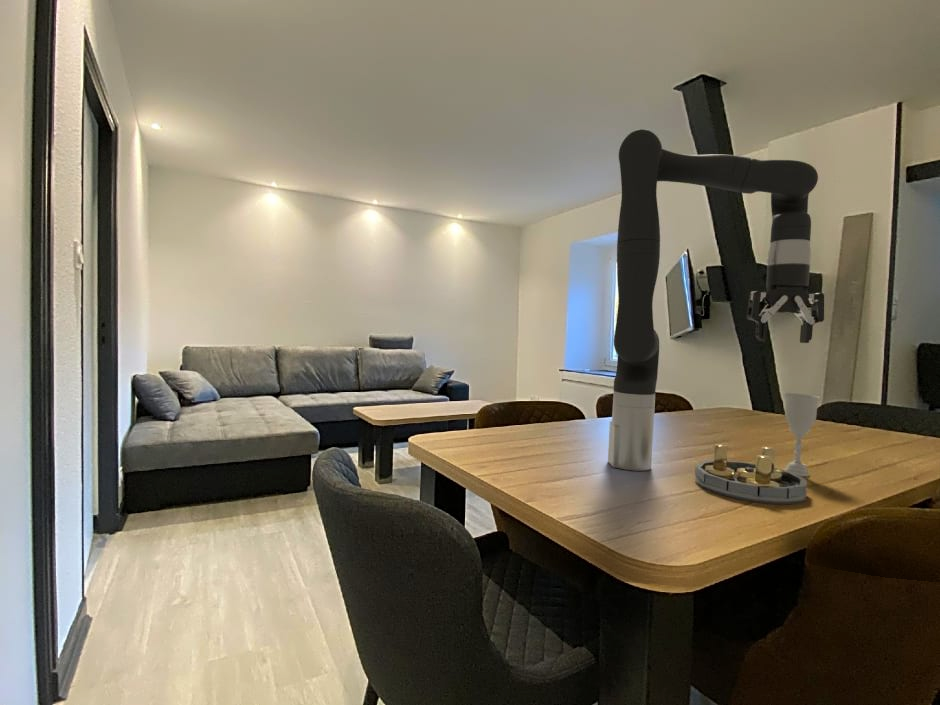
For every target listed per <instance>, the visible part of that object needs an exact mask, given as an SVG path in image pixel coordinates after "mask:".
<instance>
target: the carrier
mask: <svg viewBox="0 0 940 705" xmlns="http://www.w3.org/2000/svg"><path fill="white" fill-rule="evenodd" d="M728 449H729V447H728V445H726V444H720V443H719V444H717V443H715V444H713V459H712V460H706V461H700V462H698V464H697V465H695V469H694V470H695V471H694V476H695V477H694V480H695V481H694V482H695V483H696V484H697V485H698V486H699V487H701V488H703V489H705V490H707V491H709V492H712V493H714V494H717V495H721V496H723V497H728V498H731V499H736V500H741V501H745V502H751V503H759V504H765V505H766V504H767V505H796V504H800V503H801V504H802V503H804V502H805V501H806V500H807V496H808V491H807V479H806V478H805V477H803V476H798V475H796V474H794V473H791V472H789V471H785V469H781V468H778V467H775V461H776V460H775V458H776V448H774V447H771V446H761V447H760V454H759V455H765V456H770V457H772V465H771V481H774V482H777V483H778V484H779V487H775V486H758V485H752V484H747V483H746V479H747V478H755V471H756V463H753V462H746V461H739V460H728V452H729V450H728Z"/></svg>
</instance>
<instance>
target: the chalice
mask: <svg viewBox="0 0 940 705" xmlns="http://www.w3.org/2000/svg"><path fill="white" fill-rule="evenodd" d="M783 395H784V397H785V400H786V401H785V414H784V415H785V416H784V417H785V419H786V422H787V424H788V427H789V429H790V432H791V433H792V434H793V435H795V436H796V437H795V438H796V441H795V442H794V445H795V450H794V451H793V453H794V456H795V457H794V460H793V461H790V462H789V463H787V466H786V467H785V469H784V470H785V471H789V472H791V473H794V474H796V475H798V476H800V477H810V476H809V475H810V473H809V470H808V468H807V464H805V463H803V462H802V461H801V455H802V454H803V452H802V447H803V443H802V438H803V437H804V436H807V435H808V433H810V431H811V429H812V428H813V426H814V424H815V423H816V419H817V416H818V415H817V413H818V412H817V411H818V402H819V400H820V399H821V396H818V395H813V394H812V395H811V394H805V393H804V394H802V393H801V394H800V393H783Z"/></svg>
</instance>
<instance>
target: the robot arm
mask: <svg viewBox="0 0 940 705" xmlns="http://www.w3.org/2000/svg"><path fill="white" fill-rule="evenodd" d="M618 162H619V169H620V182H621V200H620V209H619V217H618V229H617V239H616V243H617V244H616V278H617V296H618V300H617V302H618V304H617V314H616V321H615V328H614V329H615V330H614V335H613V336H614V337H613V346H614V350H615V352H616V354H617V364H616V371H615V376H614V379H613V392H612V393H613V396H612V412H611V414H612V415H611V421H610V422H609V431H608V432H609V433H608V450H607V451H608V452H607V454H608V455H607V462H608V463H609V464H610V466H611V467H612V468H615V469H622V470H627V471H637V472H638V471H649V470H651V469H652V461H653V447H654V446H653V444H654V426H655V425H654V424H655V409H656V408H655V406H656V405H655V404H656V392H657V390H656V388H657V382H658V372H659V360H660V356H659V355H660V337H659V335H658V333H657V332H656V330H655V327H654V326H655V325H654V314H653V313H654V312H653V309H654V308H653V301H654V293H655V288H656V284H657V281H658V280H657V279H658V273H659V267H660V257H661V256H660V254H661V253H660V252H661V228H660V227H661V226H660V216H659V207H658V198H657V187H658V182H668V183H669V182H670V183H671V182H672V183H681V184H682V183H683V184H688V185H689V184H690V185H696V186H697V185H698V186H702V187H703V186H704V187H709V188H715V189H718V190H724V191H729V192H735V193H740V194H749V195H750V194H754V193H757V192H759V193H760V192H762V193H768V194H769V193H770V205H771V218H772V219H771V220H772V221H771V229H770V243H769V249H768V254H767V260H766V263H767V267H766V268H767V269H766V280H765V281H766V283H765V286H766V290H765V291H764V292H763V291H760V290H756V291H754V290H753V291H751V292H749V296H748V303H747V304H748V305H747V310H746V311H747V312H746V319H747V320H748V321H752V322H755V335H754V336H755V338H756V339H757V341H758V342H767V332H768V323H767V321H768V320H769V319H770V318H771V317H772V316H773V315H775V314H780V313H785V314H794V316H795V317H797V318H798V319H799V321H800V322H801V323H802V324H801V325H800V334H799V336H800V337H799V343H802V344H809V343H810V341H811V340H812V338H813V327H814V325H815V324H817V323H823V322H824V320H825V294H824V293H823V292H816V293H809V291H808V288H809V285H810V284H809V282H810V271H811V270H810V269H811V268H810V267H811V255H812V254H811V253H812V252H811V234H812V233H811V232H812V218H811V216H810V214H809V213H808V209H809V194H810V193H811V192H812V191H813V190H814V189H815V188H816V186H817V184H818V180H819V174H818V172H817V169H816V168H815V167H814V166H813V165H811V164H809V163H807V162H805V161H800V160H791V159H790V160H789V159H757V158H753V157H746V156H741V155H734V154H722V153H720V154H717V153H716V154H715V153H714V154H713V153H712V154H711V153H710V154H684V153H679V152H675V151H671V150H667V149H664V148H663V145H662V142H661V140H660V139H659V137H658V135H656V134H655V133H654V132H653V131H651V130H650V129H645V128H639V129H635V130H633V131H631V132H630V133H629V134H628V135H626V137H625V138H624V139H623V141H622V142H621V145H620V146H619V149H618ZM763 300H764V301H765V302H766V305H765V306H764V307H763V308H762V310H761V312H760V313H759V311H760V304H761V302H762V301H763ZM807 302H809V304H810V310H809V308H808V307H807V306H806V303H807Z"/></svg>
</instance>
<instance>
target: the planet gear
mask: <svg viewBox="0 0 940 705" xmlns="http://www.w3.org/2000/svg"><path fill="white" fill-rule="evenodd" d="M755 464H756V471H755V478H747V479H746V483H747V484H752V485H758V486H775V487H779V484H778V483H777V482H774V481H771V465H772V457H770V456H765V455H760V454H757V455H756V458H755Z"/></svg>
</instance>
